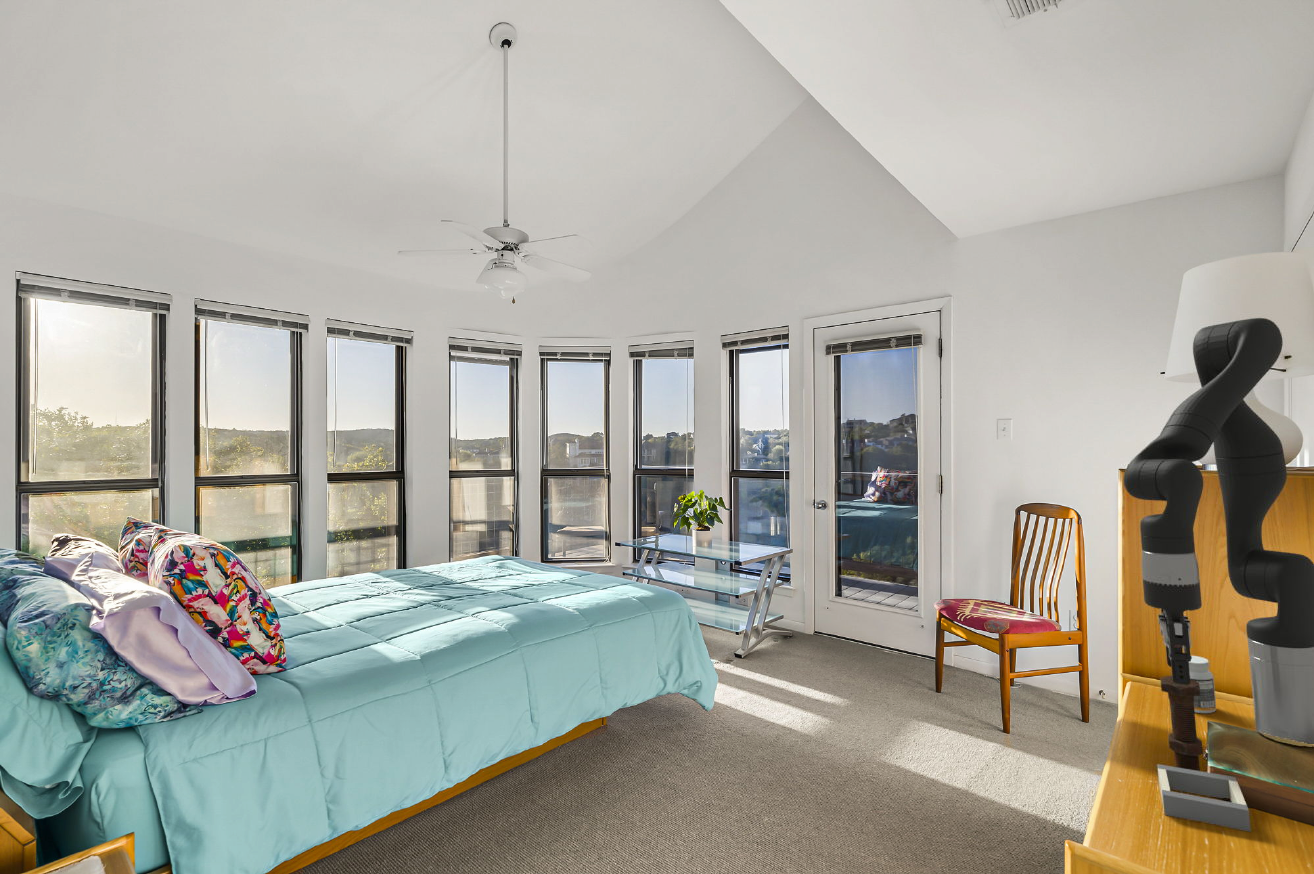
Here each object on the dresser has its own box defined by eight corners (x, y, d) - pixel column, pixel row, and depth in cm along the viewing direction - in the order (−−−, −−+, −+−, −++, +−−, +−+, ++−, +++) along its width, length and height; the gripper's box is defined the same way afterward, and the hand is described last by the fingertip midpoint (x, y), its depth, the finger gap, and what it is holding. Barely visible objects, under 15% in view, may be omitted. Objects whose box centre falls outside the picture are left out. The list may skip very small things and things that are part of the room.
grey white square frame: (1158, 782, 104) (1157, 763, 104) (1237, 796, 99) (1235, 776, 99) (1164, 814, 96) (1162, 794, 96) (1250, 831, 91) (1248, 810, 91)
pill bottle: (1179, 700, 133) (1175, 652, 133) (1216, 705, 129) (1211, 656, 129) (1179, 710, 128) (1174, 661, 128) (1217, 716, 125) (1212, 665, 125)
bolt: (1209, 782, 103) (1200, 689, 103) (1169, 775, 106) (1160, 684, 106) (1206, 766, 108) (1198, 677, 108) (1168, 759, 111) (1160, 672, 111)
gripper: (1206, 588, 99) (1214, 693, 99) (1193, 570, 111) (1201, 664, 111) (1145, 585, 104) (1153, 686, 103) (1139, 568, 115) (1147, 658, 115)
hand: (1178, 674), depth 107 cm, fingers open, 8 cm apart
